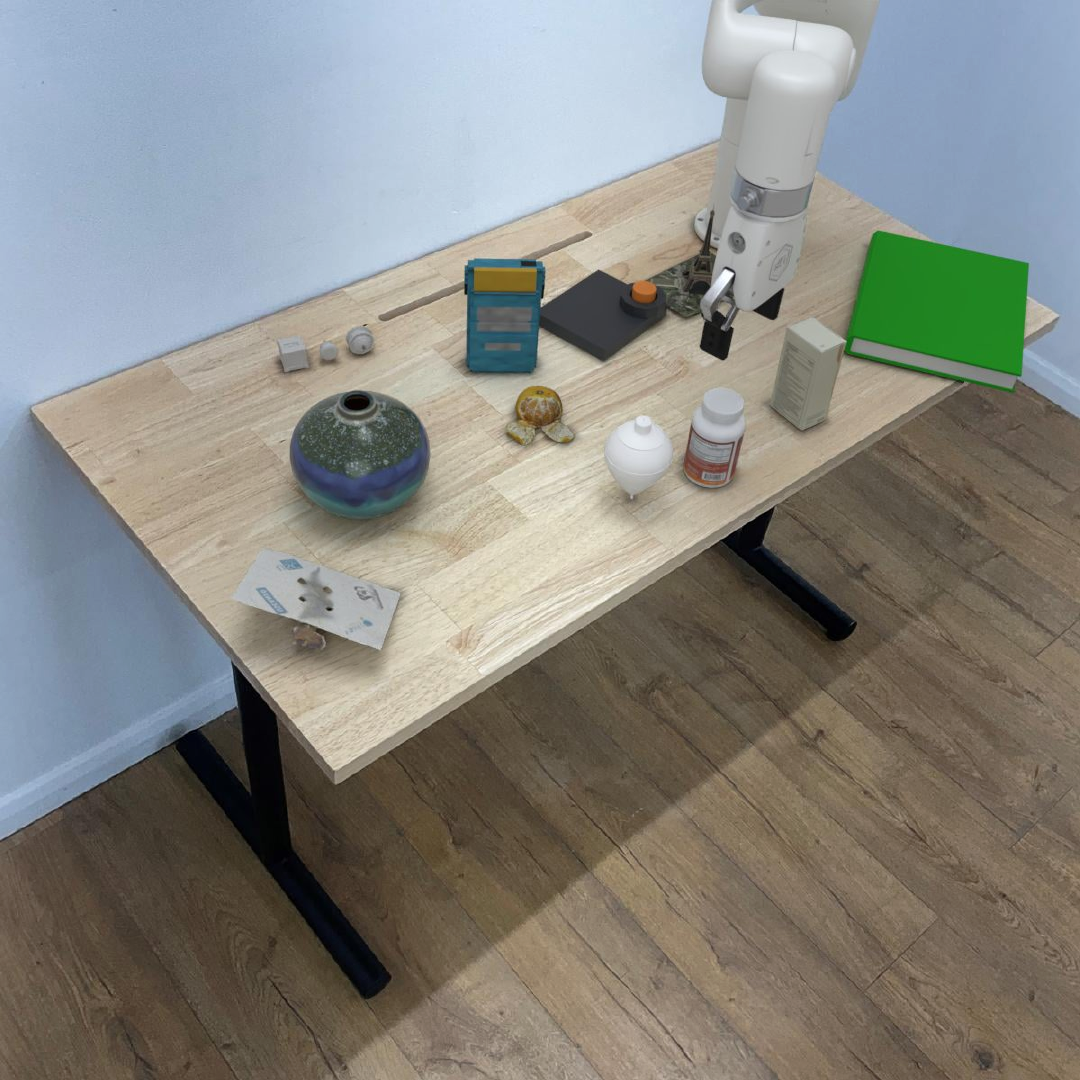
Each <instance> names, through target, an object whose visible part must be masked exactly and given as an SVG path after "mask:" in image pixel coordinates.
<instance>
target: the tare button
mask: <svg viewBox="0 0 1080 1080" xmlns="http://www.w3.org/2000/svg"><path fill="white" fill-rule="evenodd" d="M635 282H636V283H635ZM635 282H634V283H635V284H634V285H633V289H632V299H633V300H635V301H637V302H640V303H651V302H653V301H654V300H655V296H656V290H657V288H656V286H655V285H654V284H653V283H651V282H648V281H645V280H639V281H635Z"/></svg>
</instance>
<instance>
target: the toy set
mask: <svg viewBox="0 0 1080 1080" xmlns="http://www.w3.org/2000/svg"><path fill="white" fill-rule="evenodd" d="M345 336H346V337H345V342H346V344H347V345H348V348H349V350H350V351H351V352H352V353H353V354H356V355H365V354H366V353H368V352H370V351H371V350H372V349H373V348H374V345H375V337H374V335H373V333H372V331H371V330H370V329H369V328H368V327H366V326H365V325H364V326H363V325H358V326H354V327H353V328H350V330H349V331H348V332H347V334H346V335H345ZM276 343H277V346H278V352H279V355H278V358H279V360H280V362H281V364H282V367H283V371H284V374H285V373H290V372H291V371H296V370H301V369H309V368H310V365H309V362H308V356H307V355H308V354H307V353H308V349H307V346H305V344H304V343H305V342H303V338H302V335H301V334H297V335H296V336H291V337H285V338H277V339H276ZM338 354H339V348H338V346H337V344H335V343H333V342H332V341H330V340H323V341H322V343H321V344H320V346H319V355H320V357H321V359H323V360H326V361H331V360H333V359H335V358H336V357H338Z"/></svg>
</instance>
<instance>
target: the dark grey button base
mask: <svg viewBox="0 0 1080 1080" xmlns="http://www.w3.org/2000/svg"><path fill="white" fill-rule="evenodd" d="M636 282H637V281H635V282H630V283H626V282H624V281H623V280H621V279H619V278H616V277H614V276H612V275H610V274H609V273H606V272H605V271H603V270H601V269H597V270H595V271H594V272H592V273H590V274H589V275H588V276H586V277H585V278H583V279H582V280H579V282H577V283H576V284H573V286H570V288H568V289H566V290H565V291H563V292H562V293H560V294H559V295H557V296H556V297H554V298H552V299H551V300H550V301H548V302H547V303H546V304H544V305H542V306H540V320H539V328H542V329H543V330H546V331H547V332H549V333H550V334H552V335H555V336H556V337H558V338H560V339H562V340H564V341H565V342H567V343H569V344H571V345H572V346H575V347H576V348H578V349H580V350H581V351H583V352H585V353H587V354H588V355H591V356H592V357H594V358H596V359H598V360H600V361H602V362H605V361H607V360H608V359H610V358H611V357H613V356H614V355H615V354H616V353H617V352H619V351H620V350H622V349H623V348H625V347H626V346H627V345H628V344H630V343H632V342H633V341H634V340H635V339H636V338H638V337H639V336H641V335H643V333H645V332H646V331H648V330H649V329H650V328H652V327H653V326H654V325H656V324H657V323H658V322H661V320H663V319H664V318H666V316H667V312H668V307H669V306H668V305H667V304H665V302H666V296H667V295H666V293H665V292H664V291H663V289H662V288H660V287H658V286H656V285H655V286H656V288H657V290H656V296H655V300H654V301H653V302H651V303H640V302H637V301H635V300H633V299H632V289H633V285H634V284H635V283H636Z"/></svg>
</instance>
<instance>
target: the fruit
mask: <svg viewBox="0 0 1080 1080" xmlns="http://www.w3.org/2000/svg"><path fill="white" fill-rule="evenodd" d="M514 410H515V414H516V419H517V421H514V422H509V423H507V425H506V426H505V432H506V433H507V434H508V435H509V436H511V438H512V439H513V440H514V441H515V442H517V443H518V444H520V445H522V446H527V445H528V444H531V443H532V441H533V439H534V438H535V436H536V433H535V429H537V428H540V429H542V432H544V433H545V434H546V435H547V437H549V439H551V440H552V441H554V442H556V443H567V442H570V441H571V440H573V439H574V438H575V437H576V434H575V433H574V432H573V431H572V429H570V428H569V427H568V426H567V425H565V423H562V422H561V421H560V419H561V417H562V415H563V403H562V399H561V398H560V395H559V394H558V393H557V392H556V391H555V390H554V389H552V388H550V387H547V386H544V385H531V386H528V387H527V388H524V389H523V390H522V391H520V394H519V395H518V397H517V399H516V402H515V406H514Z"/></svg>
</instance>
